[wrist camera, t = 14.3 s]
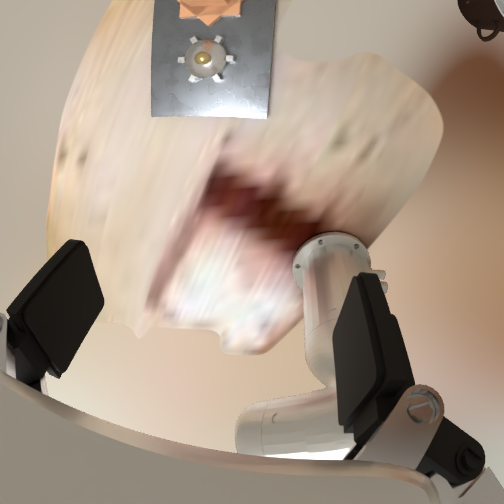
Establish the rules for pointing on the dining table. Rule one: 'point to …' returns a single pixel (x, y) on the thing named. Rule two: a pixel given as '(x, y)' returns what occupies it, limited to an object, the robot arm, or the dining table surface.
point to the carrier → (212, 62)
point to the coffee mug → (484, 15)
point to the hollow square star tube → (209, 9)
